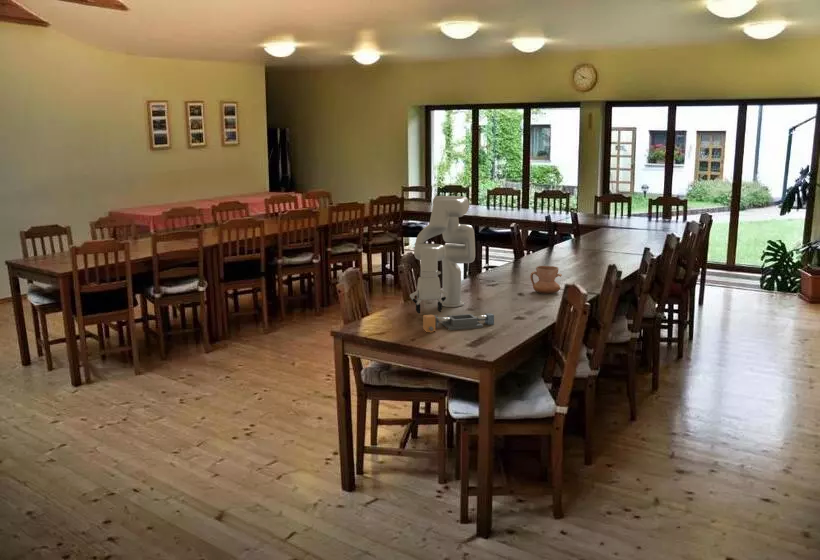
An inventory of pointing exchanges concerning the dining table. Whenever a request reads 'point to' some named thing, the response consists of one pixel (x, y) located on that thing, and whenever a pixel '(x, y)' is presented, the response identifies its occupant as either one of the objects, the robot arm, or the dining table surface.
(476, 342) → the dining table surface
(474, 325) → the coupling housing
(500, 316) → the dining table surface
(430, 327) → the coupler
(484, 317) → the straight shaft
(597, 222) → the dining table surface
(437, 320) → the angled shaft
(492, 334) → the dining table surface
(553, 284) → the ceramic jug
